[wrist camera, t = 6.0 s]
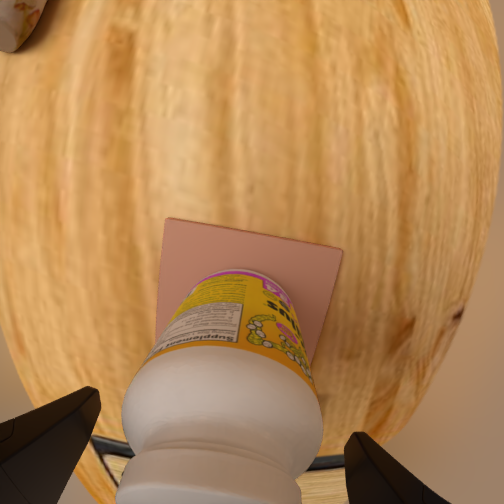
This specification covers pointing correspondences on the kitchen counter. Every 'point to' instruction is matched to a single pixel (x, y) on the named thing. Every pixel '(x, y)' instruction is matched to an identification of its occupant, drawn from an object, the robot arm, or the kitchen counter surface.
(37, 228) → the kitchen counter surface
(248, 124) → the kitchen counter surface
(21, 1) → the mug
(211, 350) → the supplement bottle
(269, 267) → the mat
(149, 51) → the kitchen counter surface
